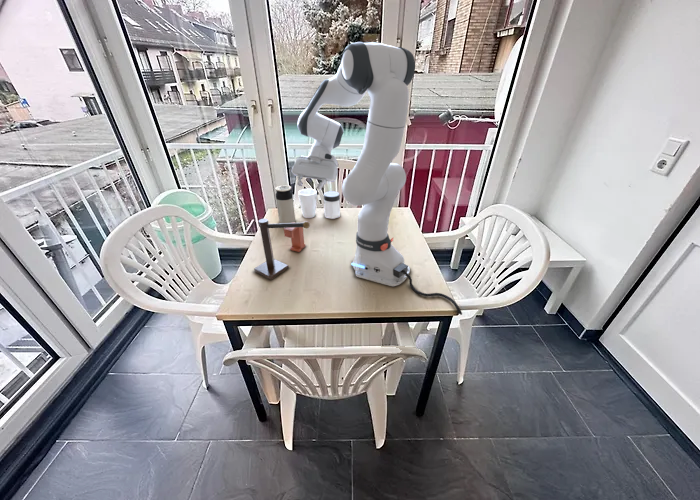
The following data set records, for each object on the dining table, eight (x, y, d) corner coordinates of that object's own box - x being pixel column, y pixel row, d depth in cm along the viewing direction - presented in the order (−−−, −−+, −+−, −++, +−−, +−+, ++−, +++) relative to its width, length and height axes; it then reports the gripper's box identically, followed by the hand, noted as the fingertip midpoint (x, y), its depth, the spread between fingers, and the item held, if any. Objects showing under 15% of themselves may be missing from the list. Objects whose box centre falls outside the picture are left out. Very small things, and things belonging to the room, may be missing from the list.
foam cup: (317, 219, 147) (316, 195, 140) (299, 219, 146) (297, 195, 139) (318, 211, 155) (317, 188, 148) (301, 211, 154) (299, 188, 147)
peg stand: (251, 281, 104) (240, 230, 92) (257, 261, 114) (248, 213, 103) (312, 278, 106) (308, 227, 94) (313, 258, 116) (309, 211, 105)
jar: (334, 210, 156) (334, 189, 149) (343, 215, 150) (343, 194, 144) (320, 215, 151) (319, 193, 144) (329, 220, 146) (329, 198, 139)
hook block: (296, 244, 126) (294, 220, 119) (305, 246, 124) (303, 221, 118) (286, 253, 119) (282, 228, 113) (295, 256, 118) (292, 230, 111)
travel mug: (297, 218, 147) (293, 185, 137) (293, 225, 140) (289, 191, 131) (282, 217, 148) (277, 184, 138) (277, 224, 141) (272, 190, 131)
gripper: (294, 151, 123) (284, 180, 121) (337, 156, 117) (327, 187, 114) (301, 159, 129) (291, 186, 127) (342, 164, 123) (332, 194, 120)
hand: (309, 187), depth 121 cm, fingers open, 8 cm apart
